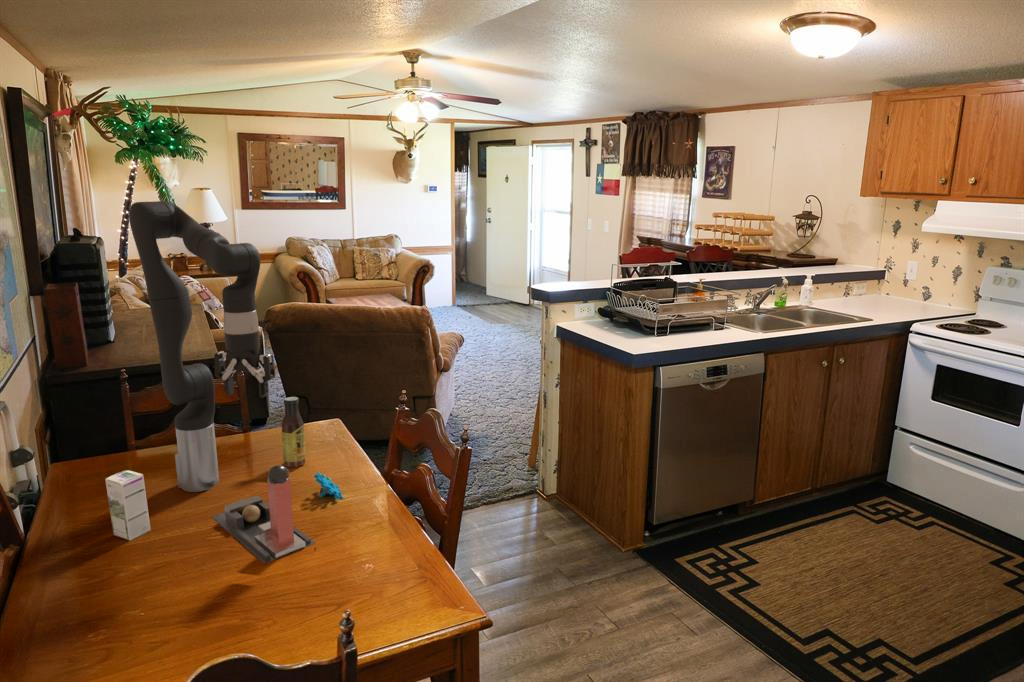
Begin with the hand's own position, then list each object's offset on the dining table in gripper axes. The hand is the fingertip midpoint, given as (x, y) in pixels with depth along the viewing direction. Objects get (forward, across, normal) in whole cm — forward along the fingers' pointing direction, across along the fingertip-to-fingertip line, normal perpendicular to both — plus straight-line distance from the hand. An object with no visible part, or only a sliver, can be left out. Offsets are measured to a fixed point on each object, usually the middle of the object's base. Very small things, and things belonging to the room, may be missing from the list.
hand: (246, 395), depth 161 cm
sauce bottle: (+30, +4, -28) cm, 41 cm away
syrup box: (+30, +22, +16) cm, 41 cm away
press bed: (+30, -8, +11) cm, 33 cm away
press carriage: (+28, -15, +16) cm, 36 cm away
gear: (+30, -16, -9) cm, 35 cm away
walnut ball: (+29, -4, +8) cm, 30 cm away
